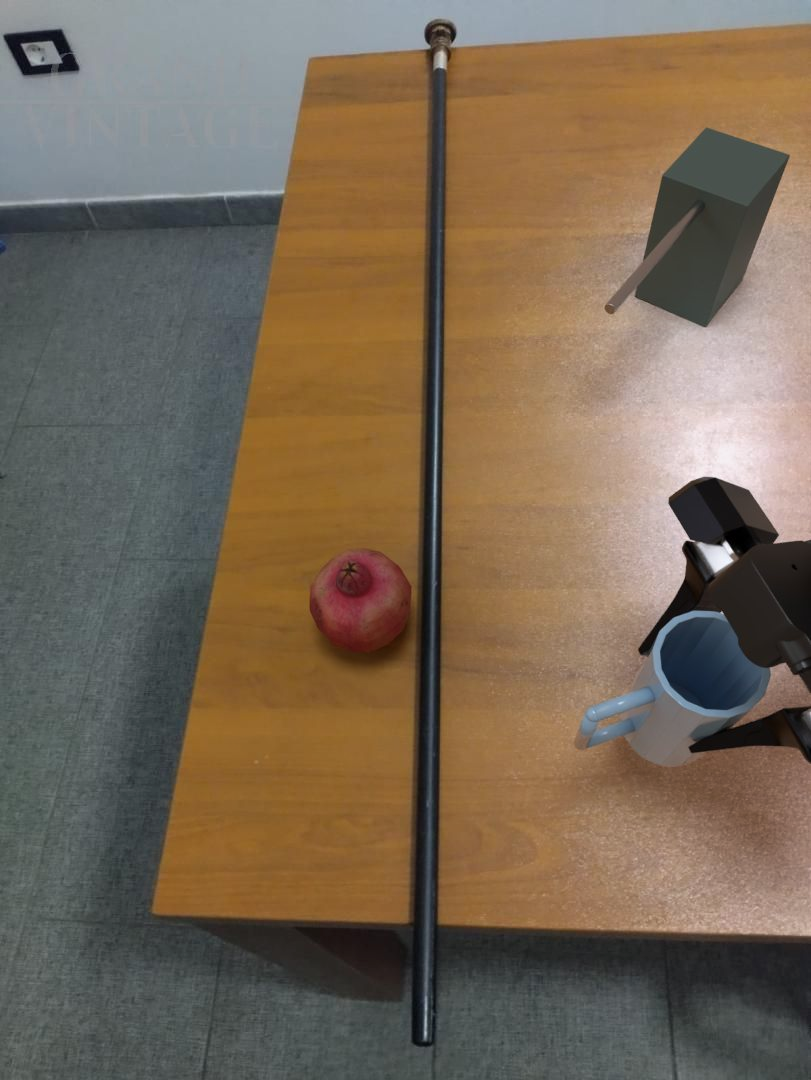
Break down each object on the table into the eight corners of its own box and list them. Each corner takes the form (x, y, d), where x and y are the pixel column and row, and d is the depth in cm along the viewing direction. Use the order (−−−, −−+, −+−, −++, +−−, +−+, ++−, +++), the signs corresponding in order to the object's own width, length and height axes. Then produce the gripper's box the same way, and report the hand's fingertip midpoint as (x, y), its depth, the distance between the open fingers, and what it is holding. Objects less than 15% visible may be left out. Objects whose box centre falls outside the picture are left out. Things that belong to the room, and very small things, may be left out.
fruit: (435, 632, 62) (427, 579, 53) (352, 685, 60) (330, 640, 52) (383, 561, 66) (368, 501, 57) (304, 610, 64) (276, 556, 55)
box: (555, 389, 73) (569, 276, 61) (672, 251, 81) (706, 126, 68) (627, 426, 70) (657, 315, 58) (742, 280, 78) (790, 154, 65)
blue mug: (684, 667, 52) (732, 596, 42) (728, 749, 49) (792, 694, 39) (552, 714, 52) (567, 654, 41) (589, 800, 49) (616, 758, 38)
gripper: (749, 375, 35) (521, 557, 44) (1032, 753, 26) (674, 886, 35) (833, 426, 43) (624, 573, 51) (1077, 735, 34) (772, 849, 42)
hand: (666, 699), depth 45 cm, fingers closed on blue mug, 6 cm apart
